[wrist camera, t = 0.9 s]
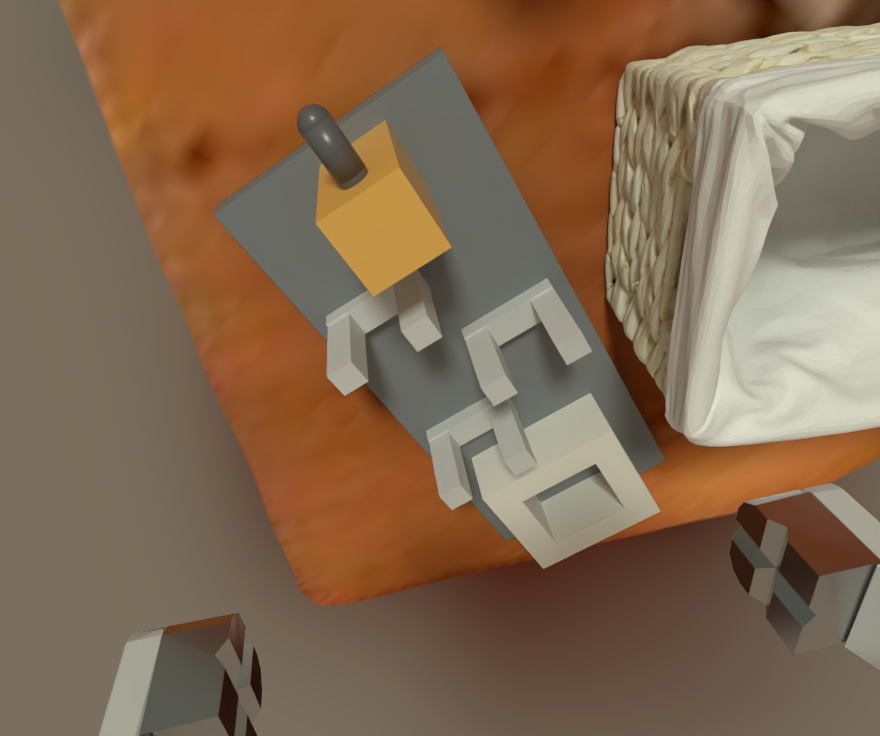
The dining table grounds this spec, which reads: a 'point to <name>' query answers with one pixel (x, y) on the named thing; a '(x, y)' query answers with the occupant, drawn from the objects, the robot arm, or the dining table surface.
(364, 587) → the dining table surface
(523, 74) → the dining table surface
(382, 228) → the plug
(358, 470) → the dining table surface
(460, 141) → the board
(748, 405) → the storage basket
